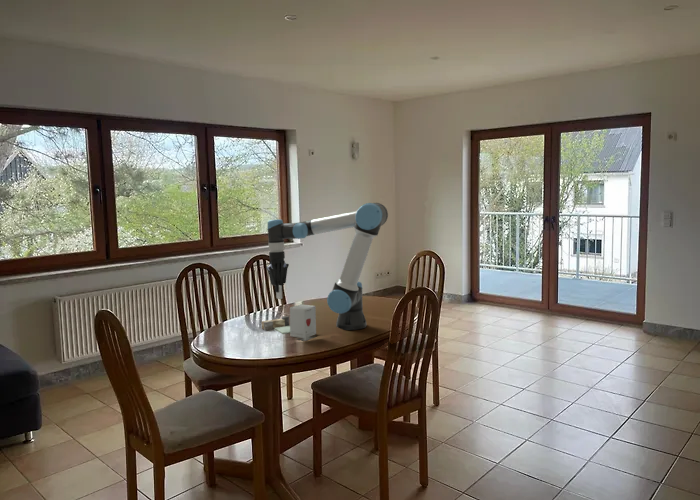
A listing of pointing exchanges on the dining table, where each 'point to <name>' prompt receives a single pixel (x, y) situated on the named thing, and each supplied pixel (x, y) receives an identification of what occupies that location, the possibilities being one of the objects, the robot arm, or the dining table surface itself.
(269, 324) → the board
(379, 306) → the dining table surface
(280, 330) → the seat pad
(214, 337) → the dining table surface
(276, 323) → the leg bar
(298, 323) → the supplement box
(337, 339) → the dining table surface
